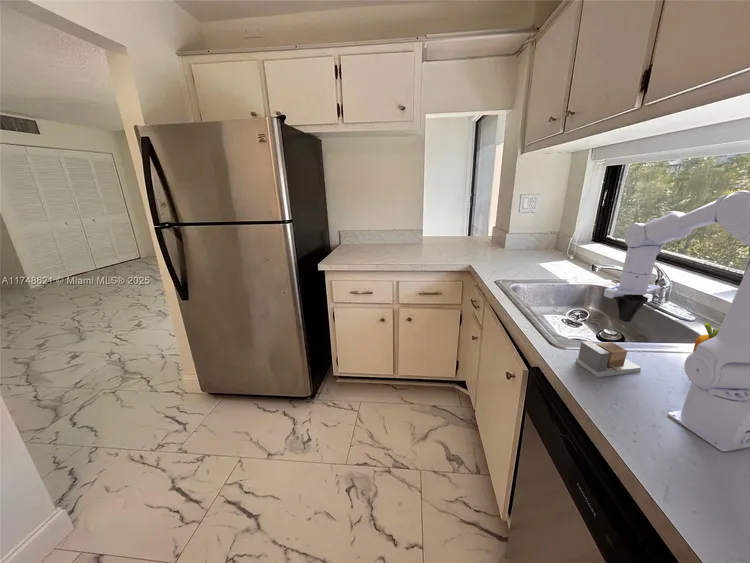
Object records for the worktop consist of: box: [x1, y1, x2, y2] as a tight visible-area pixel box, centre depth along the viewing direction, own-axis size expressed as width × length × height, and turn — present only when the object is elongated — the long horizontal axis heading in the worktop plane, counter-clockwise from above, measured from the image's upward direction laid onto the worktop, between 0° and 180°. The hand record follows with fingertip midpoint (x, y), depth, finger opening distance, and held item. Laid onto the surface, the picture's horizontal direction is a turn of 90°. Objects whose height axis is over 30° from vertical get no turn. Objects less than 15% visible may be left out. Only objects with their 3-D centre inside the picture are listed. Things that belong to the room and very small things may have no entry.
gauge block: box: [596, 341, 628, 371], centre depth 78 cm, size 6×6×4 cm
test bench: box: [575, 340, 642, 378], centre depth 79 cm, size 7×12×6 cm, turn 99°
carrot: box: [692, 322, 720, 353], centre depth 71 cm, size 5×5×15 cm
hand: (624, 320), depth 82 cm, fingers closed
